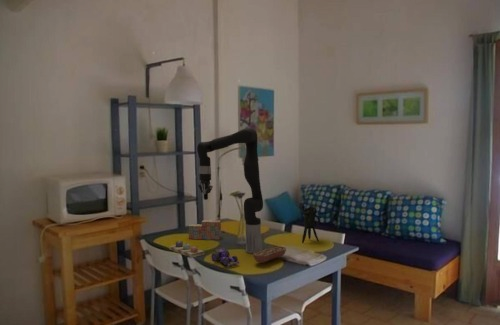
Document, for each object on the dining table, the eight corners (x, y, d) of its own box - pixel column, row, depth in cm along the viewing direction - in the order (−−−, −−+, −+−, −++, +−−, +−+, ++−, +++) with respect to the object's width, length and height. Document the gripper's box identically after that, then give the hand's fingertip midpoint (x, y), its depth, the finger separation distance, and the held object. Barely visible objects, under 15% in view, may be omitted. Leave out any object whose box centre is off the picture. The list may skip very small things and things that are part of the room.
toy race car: (227, 267, 216) (227, 255, 215) (211, 260, 227) (211, 249, 226) (241, 263, 222) (241, 251, 221) (224, 257, 233) (224, 246, 233)
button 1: (199, 251, 237) (199, 246, 237) (193, 252, 234) (193, 248, 234) (195, 249, 240) (194, 245, 240) (188, 251, 237) (188, 246, 237)
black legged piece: (310, 238, 273) (310, 201, 271) (325, 240, 265) (325, 203, 264) (293, 243, 259) (293, 205, 257) (308, 247, 251) (308, 207, 250)
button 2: (191, 248, 243) (191, 244, 243) (185, 249, 240) (185, 245, 240) (187, 246, 246) (187, 242, 246) (181, 248, 243) (181, 244, 243)
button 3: (184, 245, 249) (184, 241, 249) (178, 247, 246) (178, 243, 246) (180, 244, 252) (180, 240, 252) (174, 245, 249) (174, 241, 249)
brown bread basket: (262, 266, 216) (261, 257, 216) (248, 262, 223) (248, 253, 223) (289, 256, 232) (289, 248, 232) (276, 253, 239) (276, 245, 239)
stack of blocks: (188, 239, 274) (188, 221, 273) (190, 237, 280) (190, 219, 279) (219, 239, 272) (219, 221, 271) (221, 237, 278) (220, 219, 278)
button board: (204, 254, 237) (204, 251, 237) (191, 257, 231) (191, 254, 231) (182, 246, 255) (181, 243, 255) (169, 249, 249) (169, 246, 249)
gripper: (216, 173, 256) (216, 200, 258) (203, 171, 266) (204, 197, 267) (206, 173, 251) (207, 201, 253) (194, 172, 261) (195, 199, 262)
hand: (205, 199), depth 260 cm, fingers closed
